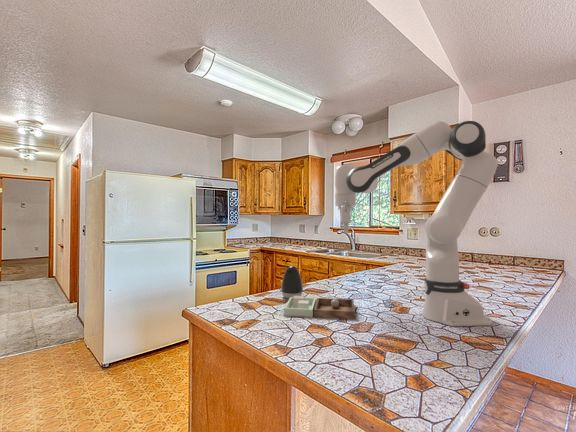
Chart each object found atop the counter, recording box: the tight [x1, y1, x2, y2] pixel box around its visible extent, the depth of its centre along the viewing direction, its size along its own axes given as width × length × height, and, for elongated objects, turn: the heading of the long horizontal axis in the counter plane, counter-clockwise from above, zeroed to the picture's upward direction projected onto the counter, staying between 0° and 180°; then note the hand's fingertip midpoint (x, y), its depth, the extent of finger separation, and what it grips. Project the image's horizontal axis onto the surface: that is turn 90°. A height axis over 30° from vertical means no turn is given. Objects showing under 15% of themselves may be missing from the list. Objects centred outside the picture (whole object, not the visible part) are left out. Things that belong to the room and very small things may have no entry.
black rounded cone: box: [280, 265, 304, 300], centre depth 140 cm, size 10×10×15 cm
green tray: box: [283, 296, 317, 318], centre depth 121 cm, size 11×16×4 cm
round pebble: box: [331, 298, 339, 308], centre depth 123 cm, size 3×3×3 cm
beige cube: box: [293, 295, 305, 308], centre depth 125 cm, size 4×4×4 cm
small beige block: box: [298, 300, 309, 309], centre depth 118 cm, size 4×4×4 cm
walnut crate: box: [313, 297, 356, 320], centre depth 119 cm, size 15×16×4 cm
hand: (346, 233), depth 132 cm, fingers open, 8 cm apart
